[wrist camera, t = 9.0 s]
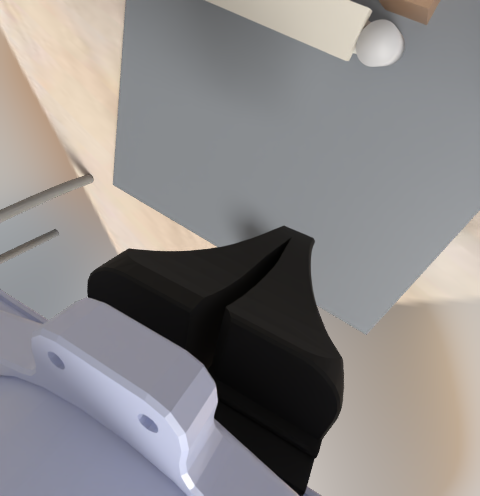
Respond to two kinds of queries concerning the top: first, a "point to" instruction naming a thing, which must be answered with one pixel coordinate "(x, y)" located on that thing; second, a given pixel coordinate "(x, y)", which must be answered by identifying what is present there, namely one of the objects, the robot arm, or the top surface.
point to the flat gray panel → (307, 139)
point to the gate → (327, 27)
